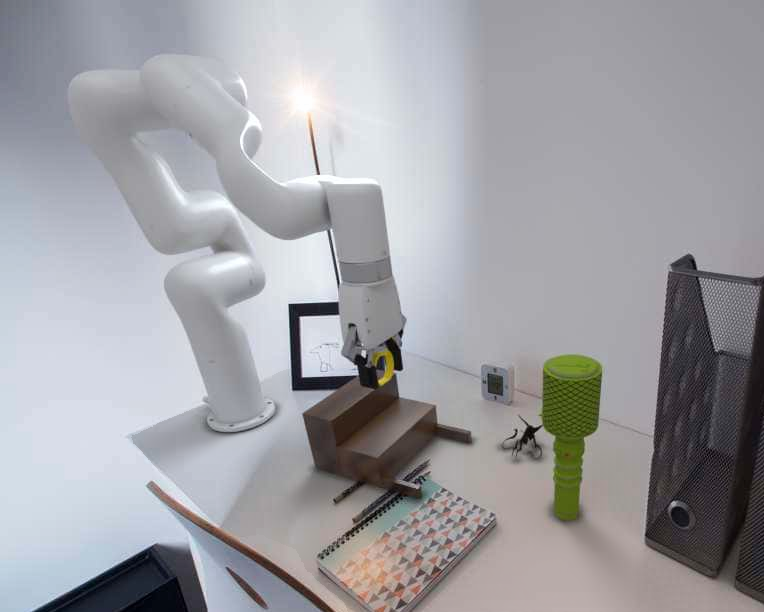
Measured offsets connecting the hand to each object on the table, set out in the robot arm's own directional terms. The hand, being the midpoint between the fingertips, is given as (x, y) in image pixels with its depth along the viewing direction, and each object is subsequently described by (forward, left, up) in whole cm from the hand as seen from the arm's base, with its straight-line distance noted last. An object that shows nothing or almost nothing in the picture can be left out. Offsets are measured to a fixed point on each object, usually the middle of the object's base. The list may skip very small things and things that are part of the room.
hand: (382, 377), depth 87 cm
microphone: (+33, -3, -15) cm, 36 cm away
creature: (+21, +10, -15) cm, 28 cm away
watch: (0, 0, -1) cm, 1 cm away
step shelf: (0, 0, -15) cm, 15 cm away
